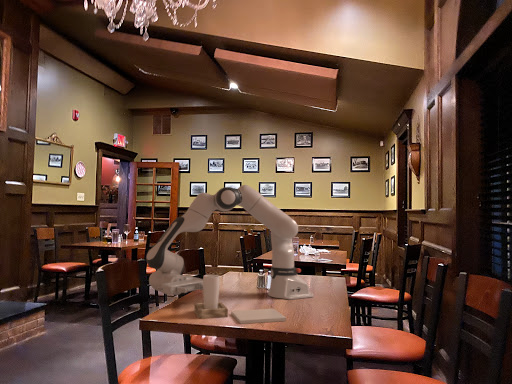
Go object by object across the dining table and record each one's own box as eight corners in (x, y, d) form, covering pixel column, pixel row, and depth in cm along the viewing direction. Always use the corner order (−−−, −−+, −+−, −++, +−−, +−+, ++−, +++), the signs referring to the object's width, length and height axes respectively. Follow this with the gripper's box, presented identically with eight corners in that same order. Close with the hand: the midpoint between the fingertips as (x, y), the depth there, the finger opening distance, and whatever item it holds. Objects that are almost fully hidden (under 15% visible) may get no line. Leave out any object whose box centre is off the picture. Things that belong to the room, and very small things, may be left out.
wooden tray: (221, 309, 156) (221, 302, 156) (227, 316, 145) (227, 308, 145) (194, 311, 153) (194, 303, 153) (198, 318, 142) (198, 310, 142)
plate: (273, 311, 155) (273, 308, 155) (286, 320, 141) (286, 317, 141) (231, 313, 149) (231, 310, 149) (240, 324, 136) (240, 320, 136)
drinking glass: (202, 311, 152) (203, 274, 153) (219, 311, 152) (220, 274, 153) (201, 316, 145) (202, 277, 146) (218, 316, 146) (220, 277, 147)
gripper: (155, 280, 157) (175, 284, 148) (193, 274, 172) (213, 278, 163) (155, 295, 156) (175, 300, 147) (193, 288, 172) (213, 293, 163)
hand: (195, 289), depth 156 cm, fingers open, 8 cm apart
